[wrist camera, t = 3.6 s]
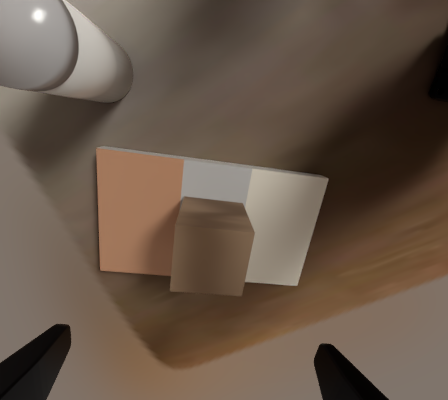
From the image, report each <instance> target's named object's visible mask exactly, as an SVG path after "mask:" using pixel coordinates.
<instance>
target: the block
mask: <svg viewBox="0 0 448 400" xmlns="http://www.w3.org/2000/svg"><path fill="white" fill-rule="evenodd" d="M254 235H255V232H254V229H253V227H252V224H251V222H250V220H249V217H248V215H247V212H246V210H245V207H244V205H243V203H238V202H229V201H221V200H212V199H203V198H195V197H186V196H184V199H183V202H182V205H181V208H180V211H179V215H178V218H177V221H176V224H175V235H174V246H173V258H172V270H171V282H170V291H173V292H187V293H201V294H215V295H229V296H242V293H243V288H244V283H245V279H246V274H247V269H248V264H249V259H250V254H251V250H252V245H253V240H254Z"/></svg>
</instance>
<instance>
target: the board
mask: <svg viewBox="0 0 448 400" xmlns="http://www.w3.org/2000/svg"><path fill="white" fill-rule="evenodd" d="M96 154H97V185H98V217H99V248H100V270H101V271H114V272H126V273H139V274H152V275H165V276H171V270H172V258H173V246H174V235H175V224H176V221H177V218H178V215H179V211H180V208H181V205H182V202H183V199H184V196H186V197H195V198H203V199H212V200H221V201H229V202H238V203H243V205H244V207H245V210H246V212H247V215H248V217H249V220H250V222H251V224H252V227H253V229H254V232H255V235H254V240H253V245H252V250H251V254H250V259H249V264H248V269H247V274H246V279H245V282H254V283H266V284H279V285H292V286H297V285H298V281H299V278H300V274H301V271H302V268H303V264H304V261H305V258H306V254H307V251H308V247H309V244H310V241H311V237H312V234H313V231H314V227H315V224H316V220H317V217H318V214H319V210H320V207H321V203H322V200H323V197H324V193H325V190H326V187H327V183H328V180H329V179H328V178H326V177H324V176H322V175H318V174H310V173H303V172H295V171H288V170H280V169H273V168H265V167H258V166H250V165H243V164H235V163H228V162H220V161H213V160H205V159H197V158H190V157H182V156H175V155H167V154H160V153H152V152H145V151H137V150H130V149H122V148H115V147H107V146H102V147H98V148H96Z"/></svg>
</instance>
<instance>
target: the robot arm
mask: <svg viewBox="0 0 448 400" xmlns="http://www.w3.org/2000/svg"><path fill="white" fill-rule="evenodd" d="M438 89H439V93H437V92H438ZM429 96H430V98H432V99H435V100H441V101H447V102H448V45H447V48H446V50H445V53H444V55H443V58H442V60H441V63H440V66H439V68H438V71H437V73H436V76H435V78H434V81H433V84H432V86H431V89H430V92H429ZM70 346H71V332H70V326H69V325H66V324H56V325H54V326H52V327H51V328H49V329H48V330H46V331H45V332H44V333H42V334H41V335H39V336H38V337H37V338H35V339H34V340H32V341H31V342H30V343H28V344H27V345H25V346H24V347H22V348H21V349H19V350H18V351H17V352H15V353H14V354H12V355H11V356H9V357H8V358H7V359H5V360H4V361H2V362H1V363H0V400H46V399H47V397H48V395H49V393H50V391H51V388H52V386H53V384H54V382H55V380H56V378H57V375H58V373H59V371H60V369H61V367H62V364H63V362H64V360H65V358H66V356H67V354H68V352H69V349H70ZM314 366H315V370H316V374H317V378H318V382H319V386H320V390H321V394H322V398H323V400H389V399H388V398H387V397H386V396H385V395H384V394H383V393H381V391H379V390H378V389H377V388H376V387H375V386H374V385H373V384H372V383H371V382H370V381H369V380H368V379H367V378H366V377H365V376H364V375H363V374H362V373H361V372H360V371H359V370H358V369H357V368H356V367H355V366H354V365H353V364H352V363H351V362H350V361H349V360H348V359H347V358H345V357H344V356H343V355H342V354H341V353H340V352H339V351H338V350H337V349H336V348H335V347H334V346H333V345H331V344H323V343H322V344H320V345H319V348H318V350H317V352H316V355H315V358H314Z"/></svg>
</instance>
